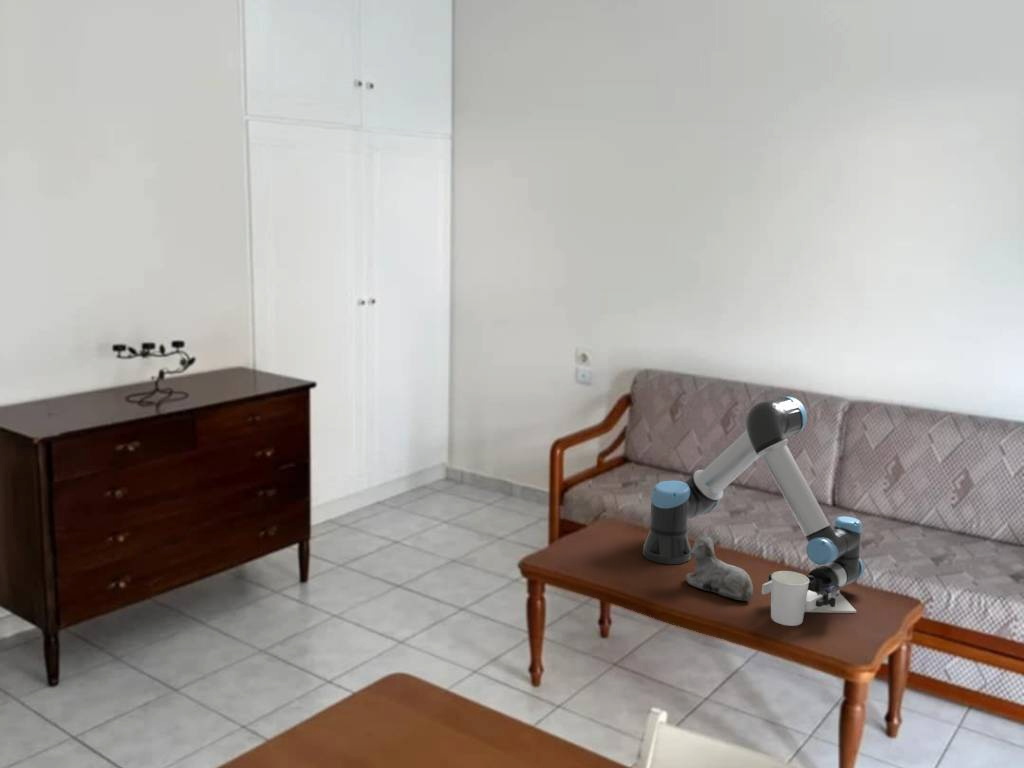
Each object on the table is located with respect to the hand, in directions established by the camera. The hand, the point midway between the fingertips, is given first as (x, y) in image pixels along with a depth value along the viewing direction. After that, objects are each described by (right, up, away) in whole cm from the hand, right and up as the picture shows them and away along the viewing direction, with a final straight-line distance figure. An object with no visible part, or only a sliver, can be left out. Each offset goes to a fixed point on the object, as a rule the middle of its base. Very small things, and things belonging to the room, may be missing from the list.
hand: (784, 597), depth 250 cm
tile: (+14, -5, +16) cm, 22 cm away
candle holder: (+1, -7, +3) cm, 8 cm away
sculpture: (-13, -3, +21) cm, 25 cm away
